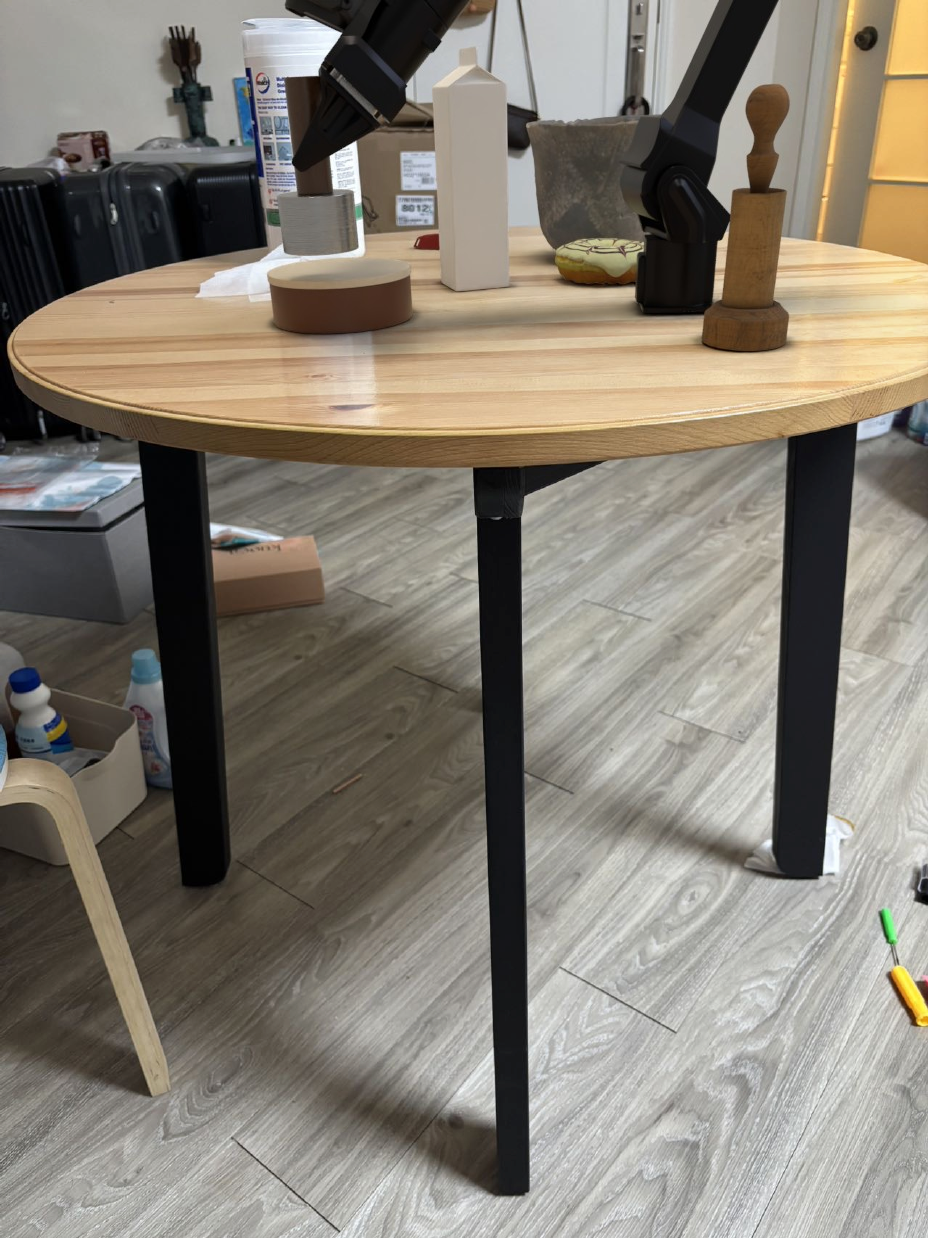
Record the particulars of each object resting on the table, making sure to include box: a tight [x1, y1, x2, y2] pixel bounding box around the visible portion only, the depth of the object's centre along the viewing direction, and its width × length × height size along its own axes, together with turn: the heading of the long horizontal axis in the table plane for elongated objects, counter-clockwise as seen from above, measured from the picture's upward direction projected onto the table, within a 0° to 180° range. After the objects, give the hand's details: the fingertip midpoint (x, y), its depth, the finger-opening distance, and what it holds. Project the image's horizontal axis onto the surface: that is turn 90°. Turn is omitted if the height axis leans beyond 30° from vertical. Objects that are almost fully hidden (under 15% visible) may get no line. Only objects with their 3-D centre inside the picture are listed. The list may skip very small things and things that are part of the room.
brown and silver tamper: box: [276, 75, 360, 257], centre depth 80 cm, size 6×6×13 cm
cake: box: [266, 256, 414, 335], centre depth 90 cm, size 13×13×4 cm
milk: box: [431, 46, 510, 293], centre depth 99 cm, size 6×6×22 cm
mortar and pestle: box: [701, 83, 791, 352], centre depth 73 cm, size 7×6×18 cm
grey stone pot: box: [525, 113, 662, 251], centre depth 114 cm, size 18×18×15 cm
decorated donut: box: [554, 238, 644, 285], centre depth 103 cm, size 10×11×4 cm
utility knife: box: [413, 233, 440, 250], centre depth 127 cm, size 12×1×2 cm, turn 69°
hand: (295, 166), depth 80 cm, fingers closed on brown and silver tamper, 3 cm apart
